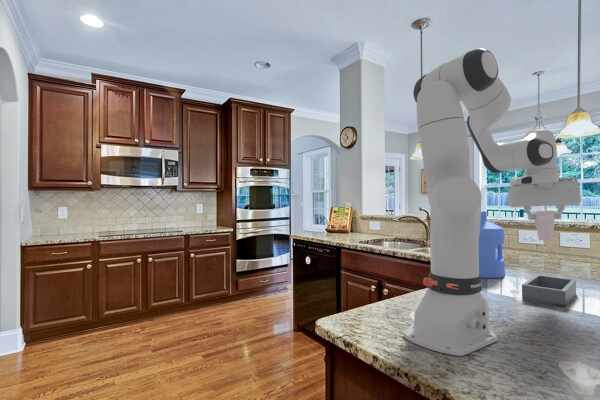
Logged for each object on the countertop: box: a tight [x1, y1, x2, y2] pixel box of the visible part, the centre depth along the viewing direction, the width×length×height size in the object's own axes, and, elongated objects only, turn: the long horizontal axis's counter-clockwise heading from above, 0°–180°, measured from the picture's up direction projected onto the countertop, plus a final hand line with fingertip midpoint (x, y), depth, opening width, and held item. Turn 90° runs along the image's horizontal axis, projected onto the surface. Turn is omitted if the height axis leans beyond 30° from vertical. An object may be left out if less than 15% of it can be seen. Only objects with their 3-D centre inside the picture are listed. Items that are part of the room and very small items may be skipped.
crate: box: [521, 274, 577, 309], centre depth 105 cm, size 20×11×5 cm, turn 132°
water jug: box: [478, 211, 506, 279], centre depth 138 cm, size 16×16×28 cm
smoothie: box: [531, 206, 557, 242], centre depth 105 cm, size 6×6×14 cm
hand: (544, 219), depth 105 cm, fingers closed on smoothie, 6 cm apart
